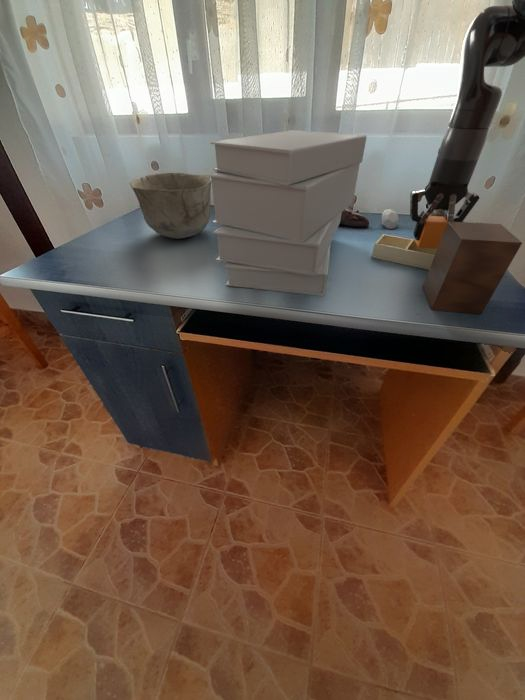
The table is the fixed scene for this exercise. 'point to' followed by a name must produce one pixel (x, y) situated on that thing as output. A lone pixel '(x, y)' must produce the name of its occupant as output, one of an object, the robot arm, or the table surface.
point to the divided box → (403, 251)
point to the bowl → (174, 202)
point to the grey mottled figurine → (438, 213)
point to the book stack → (282, 206)
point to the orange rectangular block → (432, 232)
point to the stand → (469, 266)
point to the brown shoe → (353, 219)
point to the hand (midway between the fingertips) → (428, 239)
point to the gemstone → (390, 218)
